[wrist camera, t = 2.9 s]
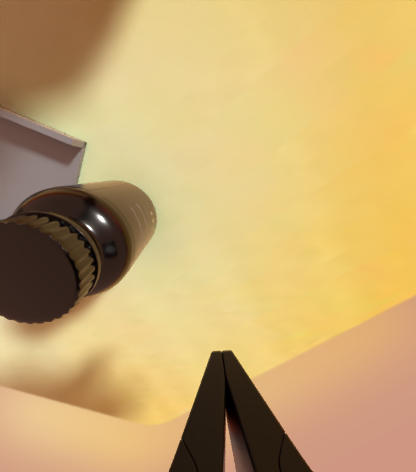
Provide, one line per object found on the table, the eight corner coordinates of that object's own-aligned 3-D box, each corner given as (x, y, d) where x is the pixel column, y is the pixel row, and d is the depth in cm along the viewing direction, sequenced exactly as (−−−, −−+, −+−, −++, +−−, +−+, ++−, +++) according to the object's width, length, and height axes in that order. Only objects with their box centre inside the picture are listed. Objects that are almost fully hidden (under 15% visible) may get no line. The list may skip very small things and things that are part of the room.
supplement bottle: (94, 251, 21) (-37, 348, 9) (79, 182, 19) (-112, 195, 7) (162, 248, 21) (116, 339, 9) (154, 178, 19) (83, 187, 7)
